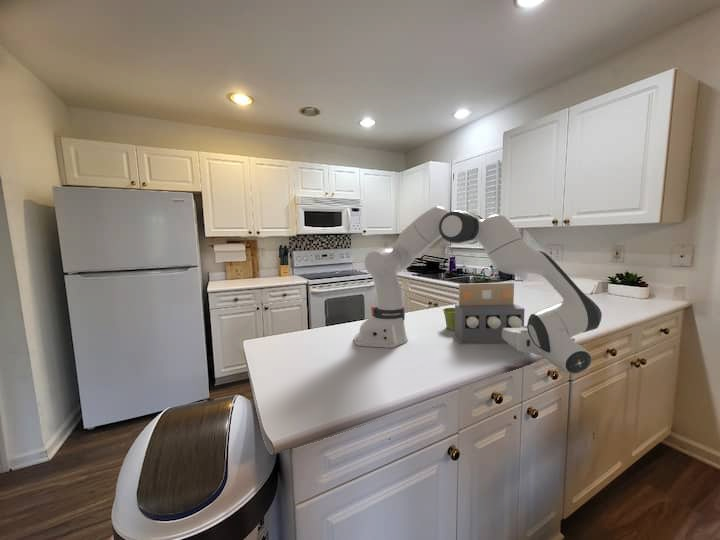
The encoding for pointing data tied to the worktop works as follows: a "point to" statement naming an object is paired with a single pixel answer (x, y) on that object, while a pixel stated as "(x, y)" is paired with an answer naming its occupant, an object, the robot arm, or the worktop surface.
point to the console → (485, 311)
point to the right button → (514, 321)
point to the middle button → (493, 322)
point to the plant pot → (450, 318)
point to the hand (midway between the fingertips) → (523, 327)
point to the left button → (471, 321)
